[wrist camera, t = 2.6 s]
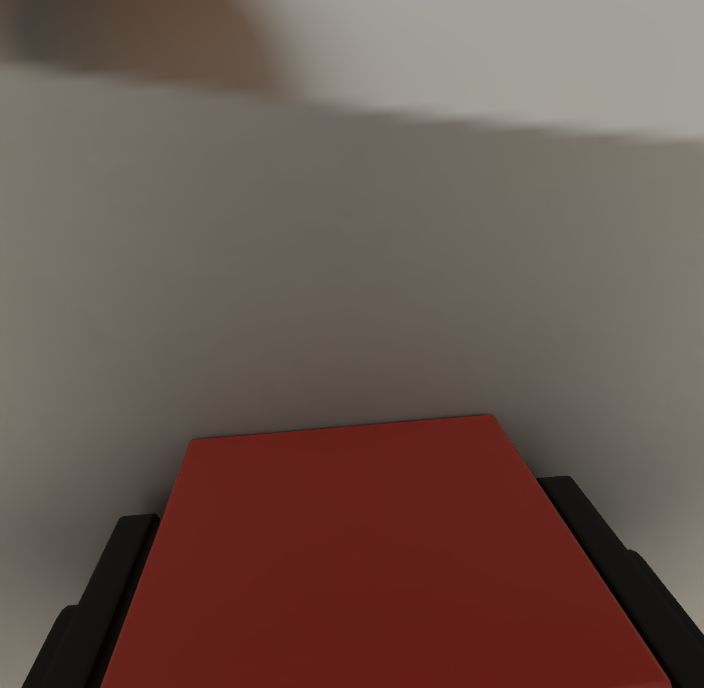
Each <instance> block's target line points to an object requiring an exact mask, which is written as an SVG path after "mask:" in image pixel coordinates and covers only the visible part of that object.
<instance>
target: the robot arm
mask: <svg viewBox="0 0 704 688" xmlns="http://www.w3.org/2000/svg"><path fill="white" fill-rule="evenodd" d="M536 480H537V482H538V483H539V485H540V486H541V488H542V489H543V491H544V492H545V494H546V495H547V497H548V498H549V500H550V501H551V503H552V504H553V506H554V507H555V509H556V510H557V512H558V513H559V515H560V516H561V518H562V519H563V521H564V522H565V524H566V525H567V527H568V528H569V530H570V531H571V533H572V534H573V536H574V537H575V539H576V540H577V542H578V543H579V545H580V546H581V548H582V549H583V551H584V552H585V554H586V555H587V557H588V558H589V560H590V561H591V563H592V564H593V566H594V567H595V569H596V570H597V572H598V573H599V575H600V576H601V578H602V579H603V581H604V582H605V584H606V585H607V587H608V588H609V590H610V591H611V593H612V594H613V596H614V597H615V599H616V600H617V602H618V603H619V605H620V606H621V608H622V609H623V611H624V612H625V614H626V615H627V617H628V618H629V620H630V621H631V623H632V624H633V626H634V627H635V629H636V630H637V632H638V633H639V635H640V636H641V638H642V639H643V641H644V642H645V644H646V645H647V647H648V648H649V650H650V651H651V653H652V654H653V656H654V657H655V659H656V660H657V662H658V663H659V665H660V666H661V668H662V669H663V671H664V672H665V674H666V675H667V677H668V678H669V680H670V683H671V686H672V688H704V635H703V633H702V632H701V631H700V629H699V628H698V627H697V626H696V624H695V623H694V622H693V621H692V619H691V618H690V617H689V616H688V614H687V613H686V612H685V611H684V609H683V608H682V607H681V606H680V604H679V603H678V602H677V601H676V599H675V598H674V597H673V595H672V594H671V593H670V592H669V590H668V589H667V588H666V587H665V585H664V584H663V583H662V582H661V580H660V579H659V578H658V577H657V575H656V574H655V573H654V572H653V570H652V569H651V568H650V566H649V565H648V564H647V563H646V561H645V560H644V559H643V558H642V557H641V556H640V555H639V554H638V553H637V552H635V551H633V550H631V549H629V550H627V549H626V548H625V546H624V545H623V544H622V542H621V541H620V540H619V538H618V537H617V536H616V535H615V533H614V532H613V531H612V529H611V528H610V527H609V526H608V524H607V523H606V522H605V520H604V519H603V518H602V516H601V515H600V514H599V513H598V511H597V510H596V509H595V507H594V506H593V505H592V503H591V502H590V501H589V500H588V498H587V497H586V496H585V494H584V493H583V492H582V491H581V489H580V488H579V487H578V485H577V484H576V483H575V481H574V480H573V479H572V478H571V477H570V476H557V477H546V478H537V479H536ZM160 523H161V521H160V518H159V516H158V514H156V513H154V514H143V515H132V516H123V517H121V518H120V519H119V520H118V522H117V524H116V526H115V528H114V530H113V532H112V534H111V537H110V539H109V541H108V543H107V545H106V547H105V549H104V551H103V553H102V555H101V557H100V560H99V562H98V564H97V566H96V568H95V570H94V572H93V574H92V576H91V578H90V581H89V583H88V585H87V587H86V589H85V591H84V593H83V595H82V597H81V599H80V601H79V604H78V605H68V606H67V607H65V608H64V609H63V610H62V611H61V613H60V614H59V616H58V617H57V619H56V621H55V623H54V625H53V627H52V629H51V631H50V632H49V634H48V636H47V638H46V640H45V642H44V644H43V646H42V648H41V650H40V652H39V654H38V656H37V658H36V660H35V662H34V664H33V666H32V668H31V670H30V672H29V674H28V676H27V678H26V680H25V682H24V684H23V686H22V688H100V687H101V684H102V681H103V679H104V676H105V673H106V670H107V668H108V665H109V662H110V660H111V657H112V654H113V651H114V649H115V646H116V643H117V640H118V638H119V635H120V632H121V629H122V627H123V624H124V621H125V619H126V616H127V613H128V610H129V608H130V605H131V602H132V599H133V597H134V594H135V591H136V589H137V586H138V583H139V580H140V578H141V575H142V572H143V569H144V567H145V564H146V561H147V558H148V556H149V553H150V550H151V548H152V545H153V542H154V539H155V537H156V534H157V531H158V528H159V526H160Z"/></svg>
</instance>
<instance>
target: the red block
mask: <svg viewBox="0 0 704 688" xmlns="http://www.w3.org/2000/svg"><path fill="white" fill-rule="evenodd" d="M100 688H672V686H671V683H670V680H669V678H668V677H667V675H666V674H665V672H664V671H663V669H662V668H661V666H660V665H659V663H658V662H657V660H656V659H655V657H654V656H653V654H652V653H651V651H650V650H649V648H648V647H647V645H646V644H645V642H644V641H643V639H642V638H641V636H640V635H639V633H638V632H637V630H636V629H635V627H634V626H633V624H632V623H631V621H630V620H629V618H628V617H627V615H626V614H625V612H624V611H623V609H622V608H621V606H620V605H619V603H618V602H617V600H616V599H615V597H614V596H613V594H612V593H611V591H610V590H609V588H608V587H607V585H606V584H605V582H604V581H603V579H602V578H601V576H600V575H599V573H598V572H597V570H596V569H595V567H594V566H593V564H592V563H591V561H590V560H589V558H588V557H587V555H586V554H585V552H584V551H583V549H582V548H581V546H580V545H579V543H578V542H577V540H576V539H575V537H574V536H573V534H572V533H571V531H570V530H569V528H568V527H567V525H566V524H565V522H564V521H563V519H562V518H561V516H560V515H559V513H558V512H557V510H556V509H555V507H554V506H553V504H552V503H551V501H550V500H549V498H548V497H547V495H546V494H545V492H544V491H543V489H542V488H541V486H540V485H539V483H538V482H537V480H536V479H535V477H534V476H533V474H532V473H531V471H530V470H529V468H528V467H527V465H526V464H525V462H524V461H523V459H522V458H521V456H520V455H519V453H518V452H517V450H516V449H515V447H514V446H513V444H512V443H511V441H510V440H509V438H508V437H507V435H506V434H505V432H504V431H503V429H502V428H501V426H500V425H499V423H498V422H497V420H496V419H495V417H494V416H493V415H479V416H467V417H455V418H444V419H432V420H420V421H408V422H397V423H385V424H373V425H361V426H350V427H338V428H326V429H314V430H303V431H291V432H279V433H267V434H256V435H244V436H232V437H220V438H209V439H197V440H192V441H190V444H189V446H188V449H187V452H186V455H185V457H184V460H183V463H182V466H181V468H180V471H179V474H178V476H177V479H176V482H175V485H174V487H173V490H172V493H171V496H170V498H169V501H168V504H167V507H166V509H165V512H164V515H163V517H162V520H161V523H160V526H159V528H158V531H157V534H156V537H155V539H154V542H153V545H152V548H151V550H150V553H149V556H148V558H147V561H146V564H145V567H144V569H143V572H142V575H141V578H140V580H139V583H138V586H137V589H136V591H135V594H134V597H133V599H132V602H131V605H130V608H129V610H128V613H127V616H126V619H125V621H124V624H123V627H122V629H121V632H120V635H119V638H118V640H117V643H116V646H115V649H114V651H113V654H112V657H111V660H110V662H109V665H108V668H107V670H106V673H105V676H104V679H103V681H102V684H101V687H100Z"/></svg>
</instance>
